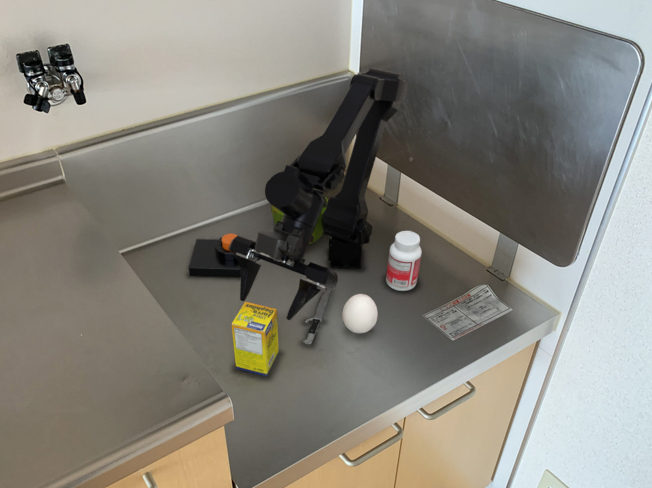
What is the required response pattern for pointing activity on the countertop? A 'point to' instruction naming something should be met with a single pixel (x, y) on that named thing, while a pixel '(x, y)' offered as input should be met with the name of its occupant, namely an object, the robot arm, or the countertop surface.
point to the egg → (360, 313)
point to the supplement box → (255, 338)
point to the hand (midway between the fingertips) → (264, 310)
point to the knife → (317, 318)
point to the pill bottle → (404, 261)
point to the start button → (227, 240)
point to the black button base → (213, 260)
